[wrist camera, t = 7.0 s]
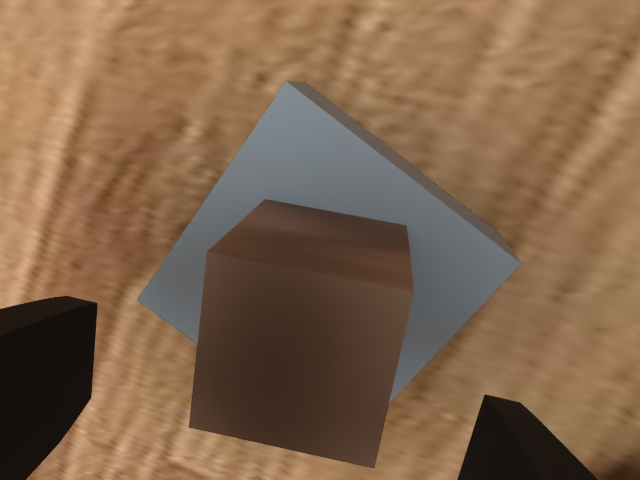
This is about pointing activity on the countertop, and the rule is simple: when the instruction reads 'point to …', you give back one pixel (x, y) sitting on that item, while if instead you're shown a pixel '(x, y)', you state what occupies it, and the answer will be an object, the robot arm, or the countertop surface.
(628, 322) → the countertop surface
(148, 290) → the base block
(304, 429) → the walnut block
